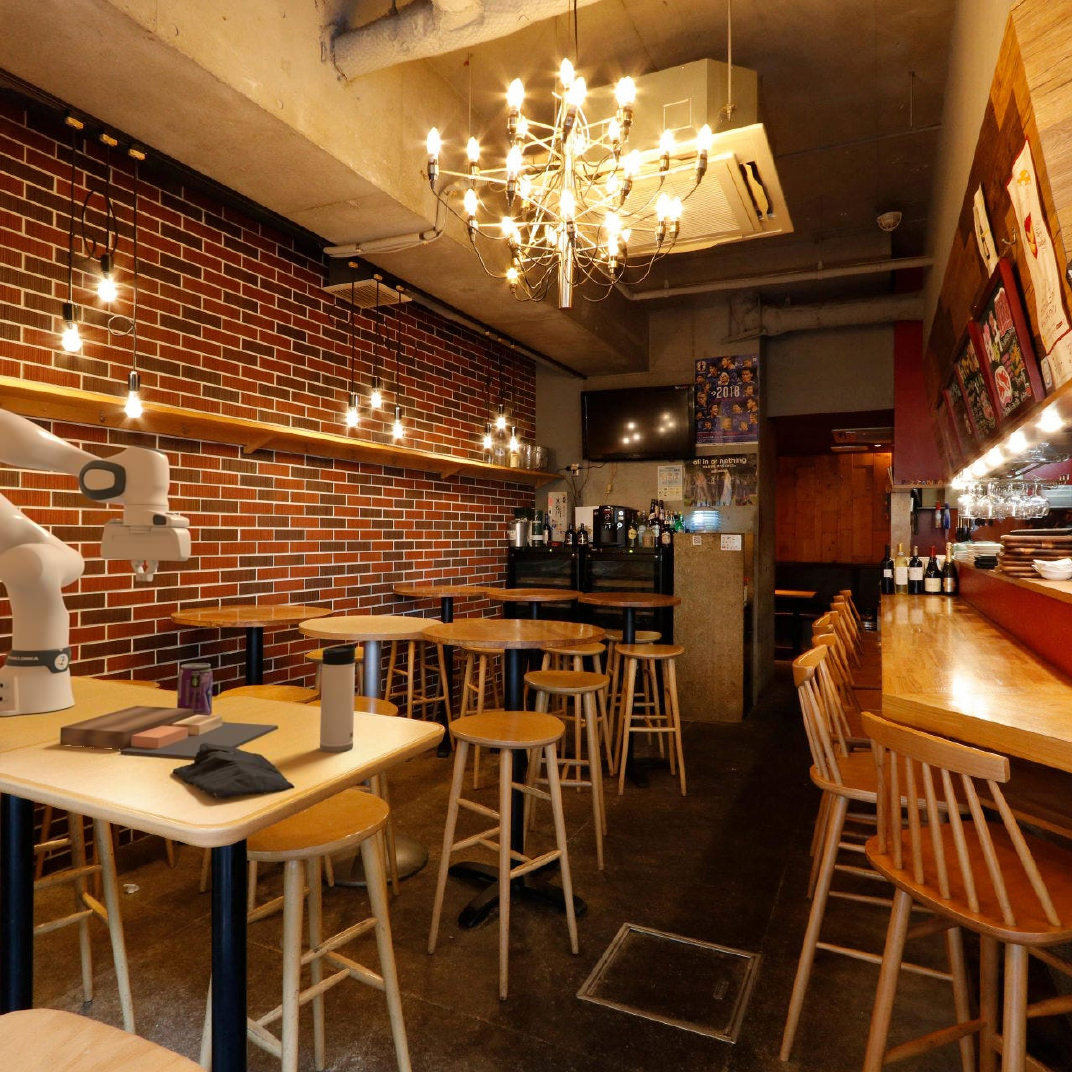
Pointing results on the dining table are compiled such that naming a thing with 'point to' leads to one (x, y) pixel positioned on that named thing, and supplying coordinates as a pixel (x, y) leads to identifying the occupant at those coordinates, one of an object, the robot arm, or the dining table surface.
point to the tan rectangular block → (200, 723)
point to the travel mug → (337, 698)
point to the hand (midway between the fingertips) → (144, 581)
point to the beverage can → (195, 688)
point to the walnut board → (120, 726)
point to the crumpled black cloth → (232, 772)
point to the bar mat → (206, 740)
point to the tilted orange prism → (159, 737)
